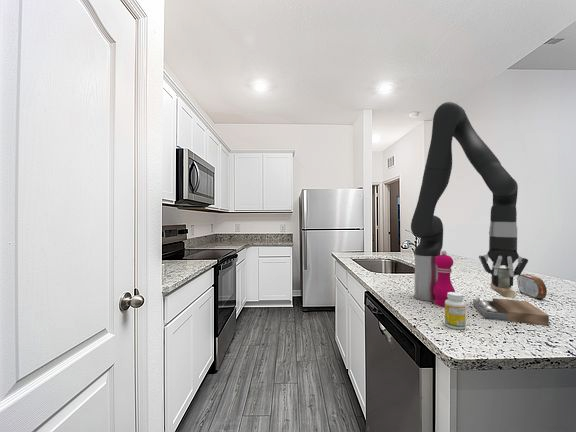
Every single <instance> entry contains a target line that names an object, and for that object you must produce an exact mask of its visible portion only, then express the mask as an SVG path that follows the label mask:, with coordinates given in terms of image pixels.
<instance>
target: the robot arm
mask: <svg viewBox="0 0 576 432" xmlns="http://www.w3.org/2000/svg"><path fill="white" fill-rule="evenodd" d="M432 119H433V120H432V129H431V139H430V145H429V148H428V152H427V157H426V162H425V164H424V165H425V166H424V170H423V176H422V182H421V186H420V190H419V193H418V198H417V199H418V200H417V203H416V207H415V209H414V213H413V216H412V219H411V221H410V230H411V233H412V235H413V236H414V237H416V238H417V239H420V241H419V243H418V245H417V246H415V248H414V299H415V300H421V301H428V302H435V298H436V296H435V295H434V294H433V289H434V286H435V284H436V282H437V280H438V272H437V271H436V270H437V269H436V268H437V265H436V264H435V258H436V257H437V256H438V255H441V252H442V250H443V245H444V224H443V222H442V220H441V218H440V217H439V216H437V215H434V214H435V210H436V206H437V203H438V201H439V200H440V198H441V197H442V195H443V194H444V192H445V190H446V189H447V187H448V185H449V182H450V178H451V176H452V175H451V174H452V171H453V170H452V169H453V149H452V148H453V147H452V145H453V138H454V139H455V140H456V141H457V142H458V143H459V145H460V147H461V148H462V150H463V152H464V154H465V157H466V158H467V160H468V161H469V163H470V164H471V166H472V167H473V168H474V170H475V171H476V172H477V173H478V174H479V175H480V176H481V178H482V180H483V181H484V183H485V185H486V186H487V188H488V189H489V191H491V193H492V206H491V207H490V223H489V231H488V235H489V239H488V243H489V245H488V251H487V252H486V253H487V254H484V255H479V256H478V259H479V261H480V263H481V264H482V267H483V269H484V271H485V272H486V273H488V274H490V275H491V283H492V284H493V285H494V286H495V287H498V276H497V275H498V269H499V268H501V266H504V268H506V269H508V270H510V289H511V288H512V287H513V286H514V277H516V276H519V275H522V274H523V271H524V269H525V268H526V266H527V264H528V263H529V259H527V258H526V257H522V256H520V255H519V253H518V225H517V214H518V213H517V202H518V194H519V193H518V192H519V191H518V190H519V188H518V187H519V186H518V185H519V184H518V182H517V181H516V180H515V179H514V178H513V177H512V176H511V174H510V173H509V172H508V171H507V170H506V169H505V167H504V166H502V163H501V162H500V160H499V159H498V157H497V155H495V154H494V153H495V152H493V151H492V149H491V148H489V147H490V146H488V145H487V144H486V143H485V142H484V140H483V139H482V138H481V137H480V135H478V133H477V132H476V130H475V128H474V127H473V125H472V124H471V121H470V119H469V118H468V115H467V113H466V111H465V109H464V108H463V107H462V106H460V105H459V104H458V103H455V102H452V101H446V102H443V103H442V104H440V105H439V106H438V107H437V108H436V109H435V112H434V113H433V117H432ZM489 259H490V260H491V262H492V264H491V267H490V266H489V264H488V261H489ZM516 261H517V265H516V267H515V268H514V265H513V264H514V263H515V262H516Z"/></svg>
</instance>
